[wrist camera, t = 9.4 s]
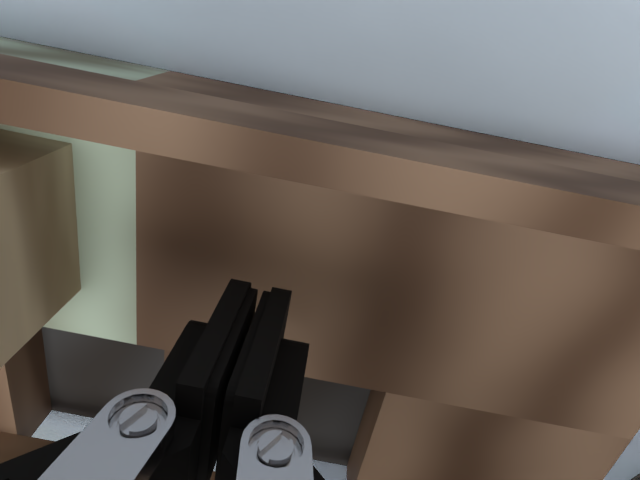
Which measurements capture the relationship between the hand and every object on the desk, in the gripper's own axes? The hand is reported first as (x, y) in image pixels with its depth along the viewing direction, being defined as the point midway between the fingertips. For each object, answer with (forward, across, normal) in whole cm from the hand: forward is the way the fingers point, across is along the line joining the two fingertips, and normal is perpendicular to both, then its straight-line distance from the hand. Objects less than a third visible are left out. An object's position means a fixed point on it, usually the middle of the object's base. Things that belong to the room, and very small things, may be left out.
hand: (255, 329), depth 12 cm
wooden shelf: (+5, -1, +2) cm, 6 cm away
